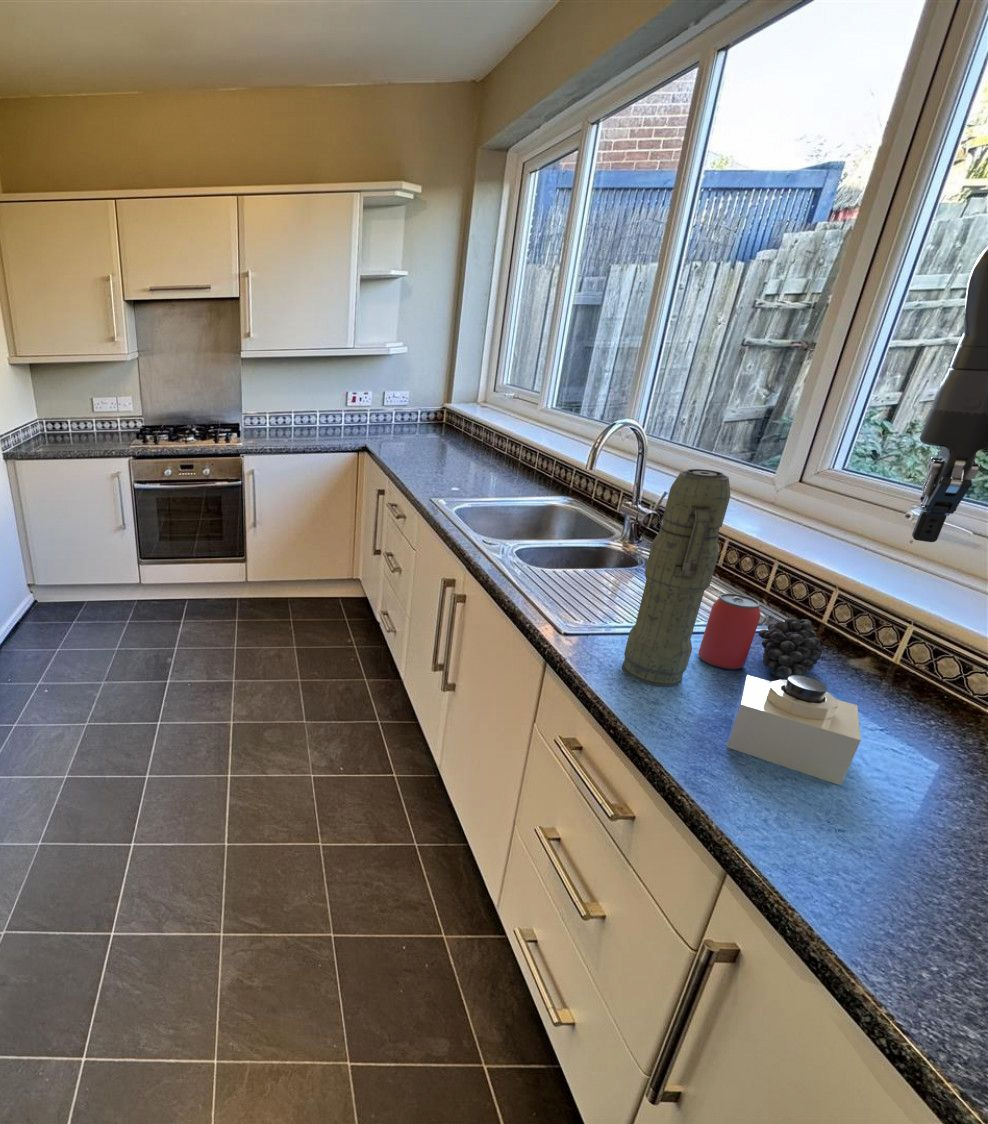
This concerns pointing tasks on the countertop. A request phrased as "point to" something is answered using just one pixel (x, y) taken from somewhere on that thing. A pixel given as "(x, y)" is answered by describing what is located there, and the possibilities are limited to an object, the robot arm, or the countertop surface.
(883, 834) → the countertop surface
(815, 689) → the black push button
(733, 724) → the push button housing
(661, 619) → the thermos
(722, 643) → the beer can
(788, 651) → the fruit
